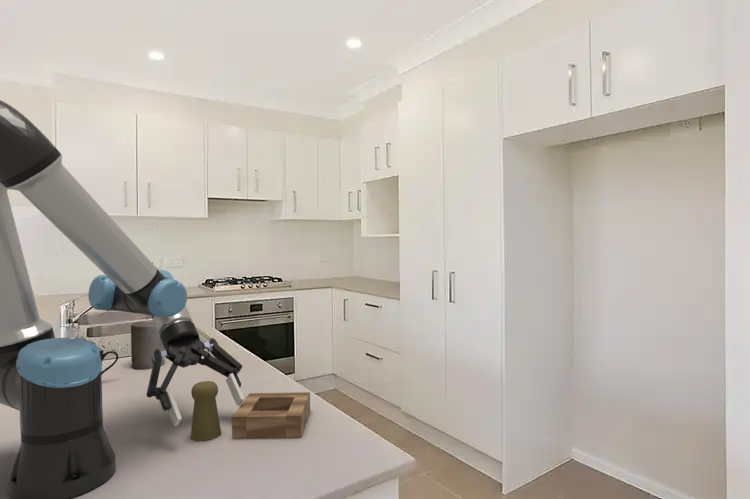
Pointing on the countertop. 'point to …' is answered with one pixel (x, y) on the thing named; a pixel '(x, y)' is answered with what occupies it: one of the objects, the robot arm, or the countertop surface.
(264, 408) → the socket block
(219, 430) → the cork
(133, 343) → the pillar candle
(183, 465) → the countertop surface
